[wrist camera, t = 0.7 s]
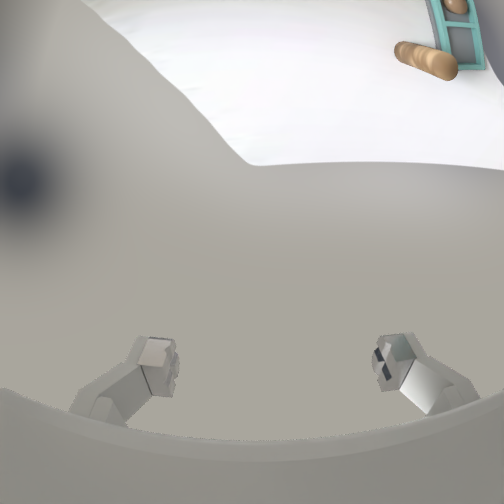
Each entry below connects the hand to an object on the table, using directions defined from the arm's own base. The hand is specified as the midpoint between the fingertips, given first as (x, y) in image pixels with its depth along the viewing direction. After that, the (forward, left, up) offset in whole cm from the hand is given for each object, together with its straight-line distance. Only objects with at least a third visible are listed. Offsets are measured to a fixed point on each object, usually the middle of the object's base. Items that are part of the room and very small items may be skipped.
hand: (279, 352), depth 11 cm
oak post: (-1, +28, -46) cm, 54 cm away
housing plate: (-7, +41, -46) cm, 62 cm away
